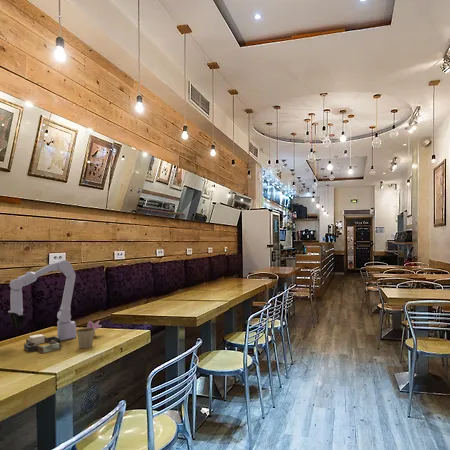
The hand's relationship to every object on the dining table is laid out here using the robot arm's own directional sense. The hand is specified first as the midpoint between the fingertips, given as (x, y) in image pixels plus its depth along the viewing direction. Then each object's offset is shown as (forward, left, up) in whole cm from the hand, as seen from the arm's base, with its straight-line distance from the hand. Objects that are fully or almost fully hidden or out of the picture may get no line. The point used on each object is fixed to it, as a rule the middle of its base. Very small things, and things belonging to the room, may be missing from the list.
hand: (17, 327), depth 204 cm
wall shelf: (-9, +13, -10) cm, 19 cm away
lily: (-35, +14, -10) cm, 39 cm away
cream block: (-9, +2, -10) cm, 14 cm away
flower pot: (-24, +32, -10) cm, 42 cm away
